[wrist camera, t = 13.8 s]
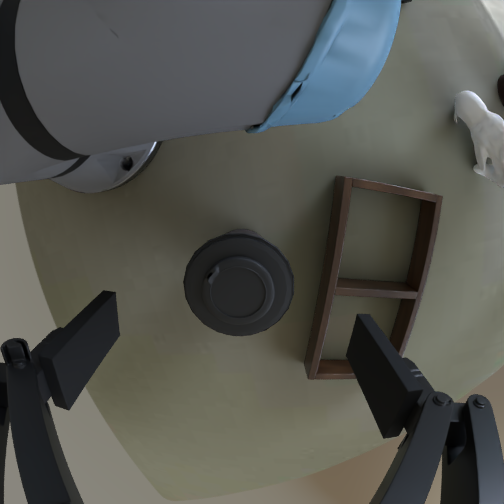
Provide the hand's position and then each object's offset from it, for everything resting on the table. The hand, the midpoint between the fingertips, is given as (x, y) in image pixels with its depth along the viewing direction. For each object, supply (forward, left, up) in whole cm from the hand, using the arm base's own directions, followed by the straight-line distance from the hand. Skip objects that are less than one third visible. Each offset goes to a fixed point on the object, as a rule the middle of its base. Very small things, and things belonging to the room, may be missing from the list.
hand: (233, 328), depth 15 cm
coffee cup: (0, 0, -16) cm, 16 cm away
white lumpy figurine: (+26, +17, -16) cm, 35 cm away
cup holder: (+14, -2, -15) cm, 21 cm away
